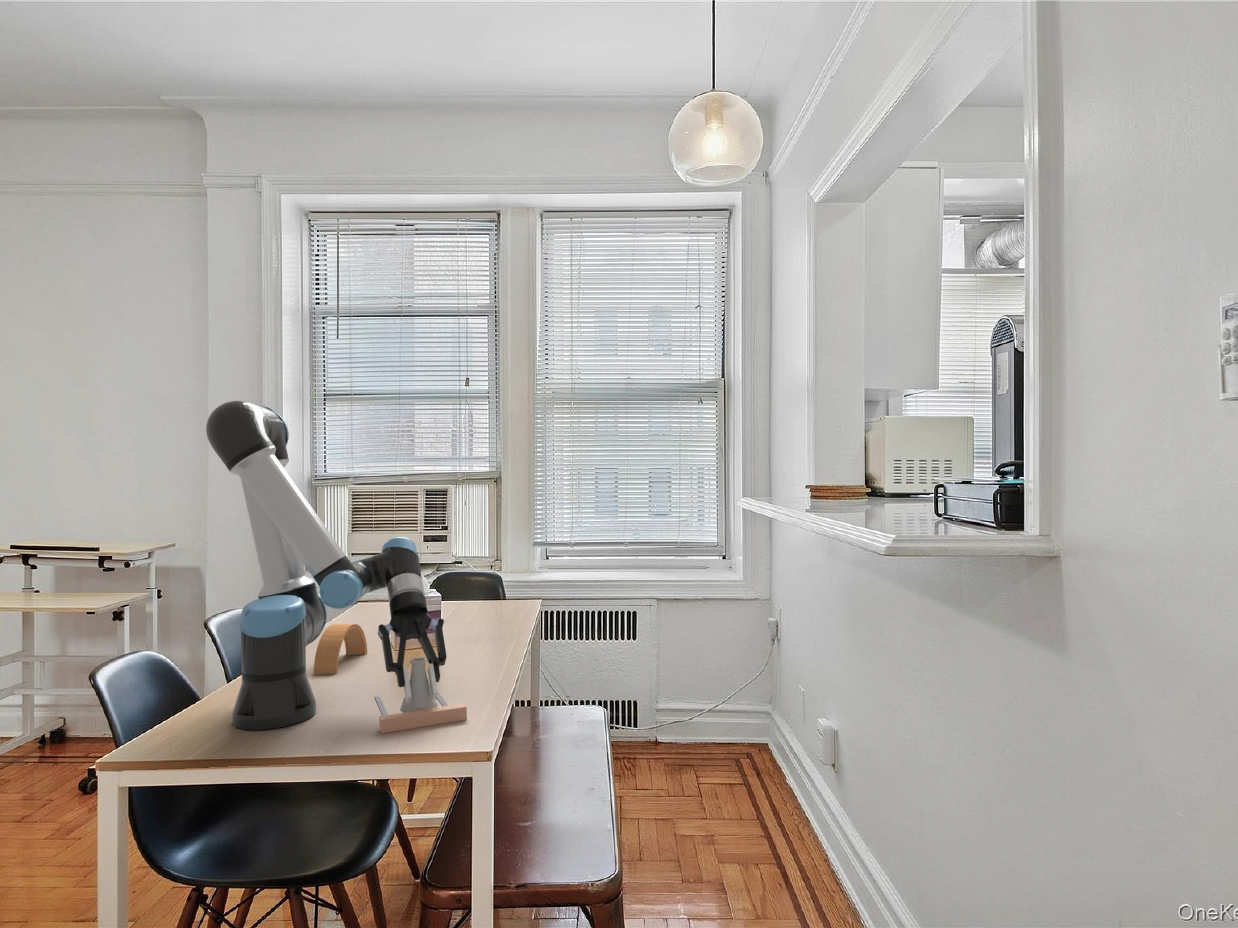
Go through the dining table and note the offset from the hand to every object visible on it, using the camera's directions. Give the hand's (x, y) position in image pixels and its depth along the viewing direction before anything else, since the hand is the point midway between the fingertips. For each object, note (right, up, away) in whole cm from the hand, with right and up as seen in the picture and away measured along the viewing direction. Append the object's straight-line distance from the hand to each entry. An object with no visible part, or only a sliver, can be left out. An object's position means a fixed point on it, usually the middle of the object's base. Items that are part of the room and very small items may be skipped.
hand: (422, 697), depth 142 cm
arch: (-33, -6, +46) cm, 57 cm away
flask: (-2, -4, +3) cm, 5 cm away
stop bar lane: (-4, -5, +9) cm, 11 cm away
